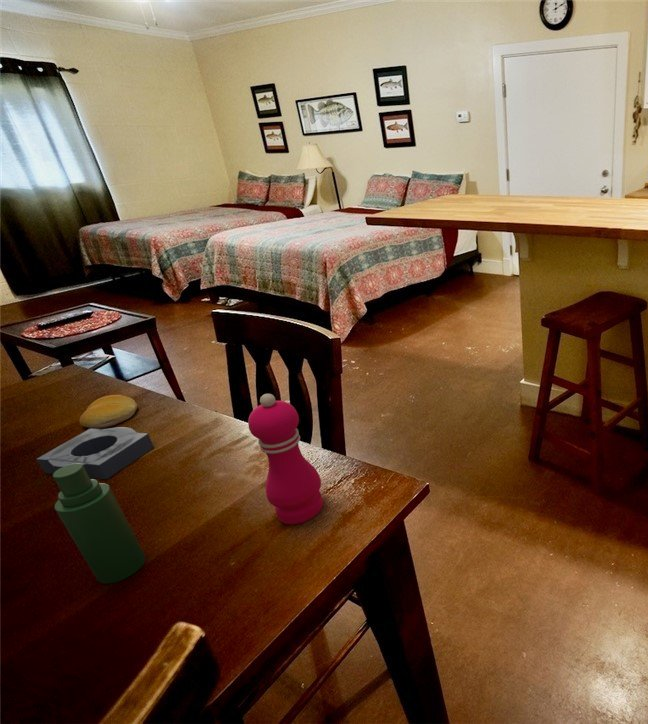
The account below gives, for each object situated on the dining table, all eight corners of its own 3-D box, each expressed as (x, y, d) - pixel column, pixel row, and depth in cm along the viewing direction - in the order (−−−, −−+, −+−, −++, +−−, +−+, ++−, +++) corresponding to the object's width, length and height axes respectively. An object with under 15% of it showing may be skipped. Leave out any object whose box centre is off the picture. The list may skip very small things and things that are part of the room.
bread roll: (76, 434, 89) (67, 416, 88) (95, 411, 97) (87, 394, 95) (129, 425, 92) (121, 407, 90) (144, 403, 100) (137, 386, 98)
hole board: (36, 478, 78) (27, 463, 77) (103, 438, 88) (96, 424, 87) (99, 484, 77) (91, 469, 75) (160, 443, 87) (154, 429, 85)
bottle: (86, 581, 60) (25, 482, 53) (123, 550, 64) (71, 455, 57) (120, 586, 59) (63, 486, 52) (155, 554, 64) (107, 458, 57)
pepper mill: (310, 487, 76) (278, 376, 67) (336, 505, 72) (306, 391, 63) (264, 513, 70) (224, 398, 62) (290, 535, 67) (251, 415, 58)
